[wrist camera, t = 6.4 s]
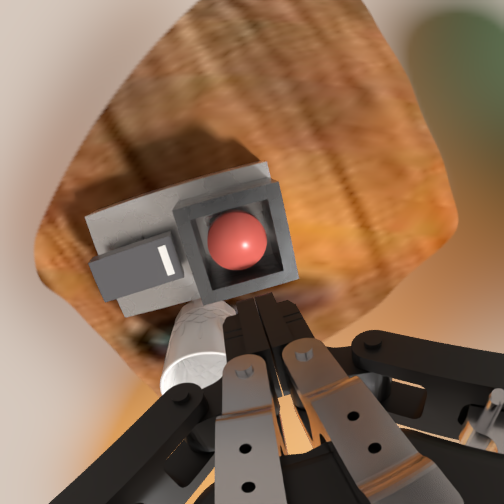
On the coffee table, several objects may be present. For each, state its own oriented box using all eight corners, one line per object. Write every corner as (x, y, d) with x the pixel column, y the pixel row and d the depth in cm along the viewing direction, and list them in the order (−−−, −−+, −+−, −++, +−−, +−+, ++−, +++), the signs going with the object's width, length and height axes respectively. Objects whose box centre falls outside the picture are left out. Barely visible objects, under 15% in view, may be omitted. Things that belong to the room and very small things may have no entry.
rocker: (92, 257, 23) (87, 263, 21) (170, 230, 24) (170, 235, 22) (108, 294, 24) (104, 302, 22) (183, 270, 25) (184, 277, 23)
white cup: (157, 306, 30) (141, 369, 20) (228, 280, 30) (239, 337, 21) (189, 362, 32) (188, 429, 23) (254, 340, 33) (272, 405, 23)
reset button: (200, 218, 23) (200, 222, 22) (256, 203, 23) (259, 206, 22) (216, 270, 24) (216, 276, 23) (268, 255, 25) (272, 261, 23)
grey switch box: (96, 210, 26) (65, 228, 19) (260, 160, 27) (277, 163, 20) (131, 302, 29) (115, 341, 23) (283, 261, 30) (304, 291, 24)
